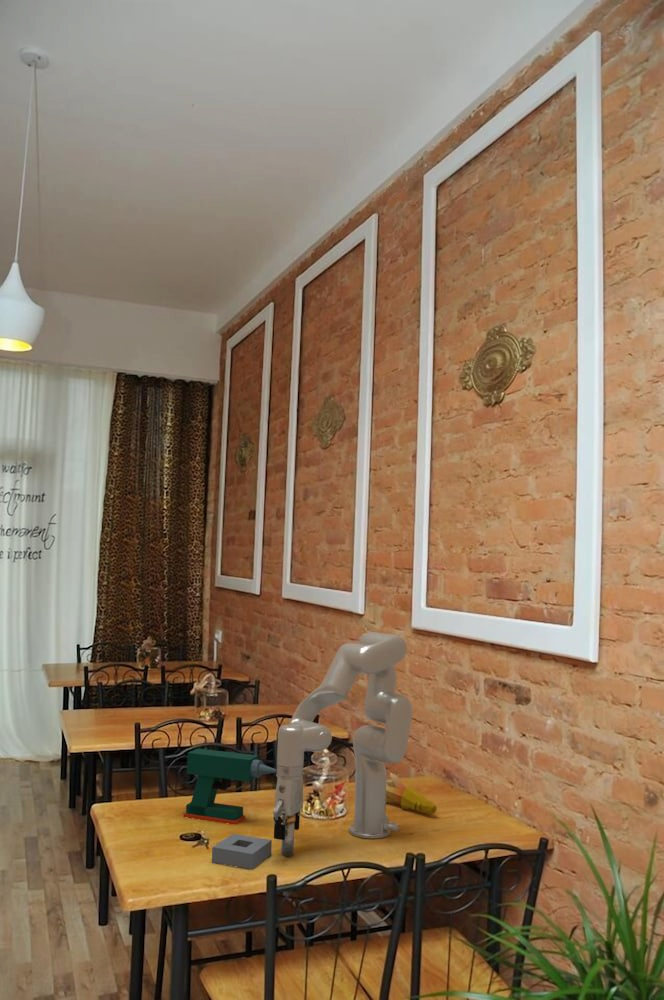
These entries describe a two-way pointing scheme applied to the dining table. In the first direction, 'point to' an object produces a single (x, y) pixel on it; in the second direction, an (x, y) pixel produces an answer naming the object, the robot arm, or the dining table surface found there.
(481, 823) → the dining table surface
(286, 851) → the copper capped vial
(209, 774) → the power tool
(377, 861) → the dining table surface
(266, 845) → the block
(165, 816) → the dining table surface
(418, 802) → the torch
